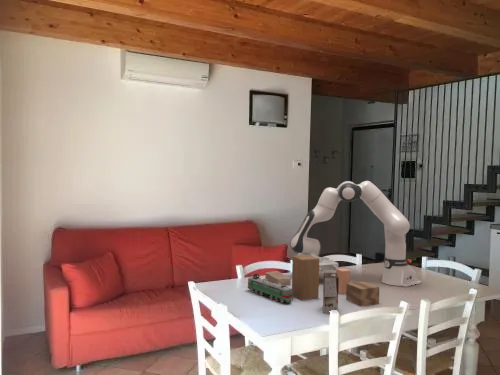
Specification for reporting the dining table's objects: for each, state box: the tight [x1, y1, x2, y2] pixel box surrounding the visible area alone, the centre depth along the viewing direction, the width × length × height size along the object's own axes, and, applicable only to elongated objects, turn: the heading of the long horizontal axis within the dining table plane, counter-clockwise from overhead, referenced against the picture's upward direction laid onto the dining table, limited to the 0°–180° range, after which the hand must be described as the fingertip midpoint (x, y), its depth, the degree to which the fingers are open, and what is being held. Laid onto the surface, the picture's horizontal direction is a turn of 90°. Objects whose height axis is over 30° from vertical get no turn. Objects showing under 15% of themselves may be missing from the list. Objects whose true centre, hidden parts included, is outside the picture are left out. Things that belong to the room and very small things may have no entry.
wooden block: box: [291, 254, 320, 301], centre depth 215 cm, size 10×10×20 cm
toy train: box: [247, 272, 294, 304], centre depth 214 cm, size 5×31×10 cm, turn 39°
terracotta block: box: [335, 267, 351, 295], centre depth 223 cm, size 5×5×12 cm
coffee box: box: [322, 272, 339, 314], centre depth 195 cm, size 9×6×16 cm
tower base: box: [345, 280, 380, 307], centre depth 208 cm, size 11×11×8 cm
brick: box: [264, 270, 292, 287], centre depth 242 cm, size 17×8×5 cm, turn 24°
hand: (329, 269), depth 234 cm, fingers open, 8 cm apart
